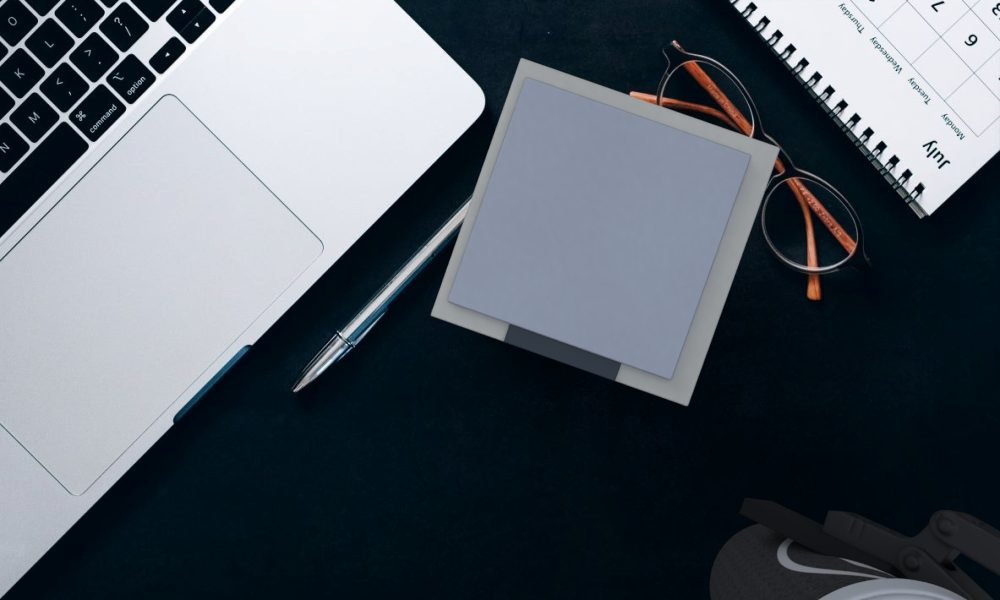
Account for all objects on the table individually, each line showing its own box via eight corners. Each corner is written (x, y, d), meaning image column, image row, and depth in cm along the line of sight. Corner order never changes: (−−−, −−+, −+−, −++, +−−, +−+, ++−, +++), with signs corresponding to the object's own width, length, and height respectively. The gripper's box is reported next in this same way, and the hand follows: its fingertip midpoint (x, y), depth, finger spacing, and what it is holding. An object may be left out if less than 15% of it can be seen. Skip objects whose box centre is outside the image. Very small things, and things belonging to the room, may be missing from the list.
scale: (678, 400, 44) (691, 409, 41) (435, 314, 44) (428, 316, 41) (766, 155, 44) (786, 144, 40) (520, 69, 44) (520, 52, 41)
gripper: (1334, 1297, 24) (693, 780, 40) (1579, 651, 24) (832, 394, 40) (1347, 1503, 19) (604, 812, 35) (1661, 676, 18) (763, 368, 35)
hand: (726, 590), depth 37 cm, fingers closed on coffee cup, 7 cm apart
